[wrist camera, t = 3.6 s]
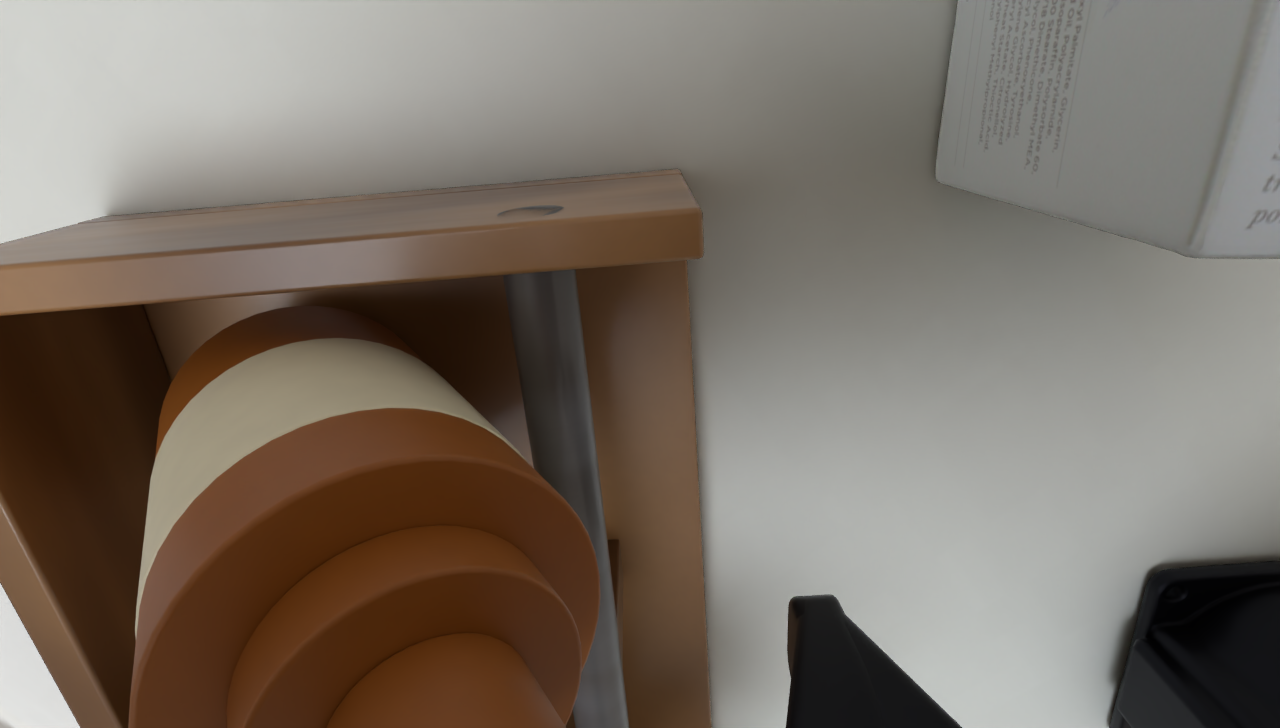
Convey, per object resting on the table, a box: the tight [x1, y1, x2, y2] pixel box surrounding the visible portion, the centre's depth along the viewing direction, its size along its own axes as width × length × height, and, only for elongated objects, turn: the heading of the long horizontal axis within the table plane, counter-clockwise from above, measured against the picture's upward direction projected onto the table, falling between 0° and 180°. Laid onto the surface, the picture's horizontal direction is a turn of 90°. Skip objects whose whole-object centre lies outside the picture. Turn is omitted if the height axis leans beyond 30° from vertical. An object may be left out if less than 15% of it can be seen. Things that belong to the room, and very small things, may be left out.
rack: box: [0, 169, 712, 728], centre depth 16 cm, size 12×19×5 cm, turn 5°
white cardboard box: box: [935, 0, 1280, 259], centre depth 10 cm, size 6×6×7 cm
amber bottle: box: [128, 306, 600, 728], centre depth 10 cm, size 10×5×12 cm, turn 94°
